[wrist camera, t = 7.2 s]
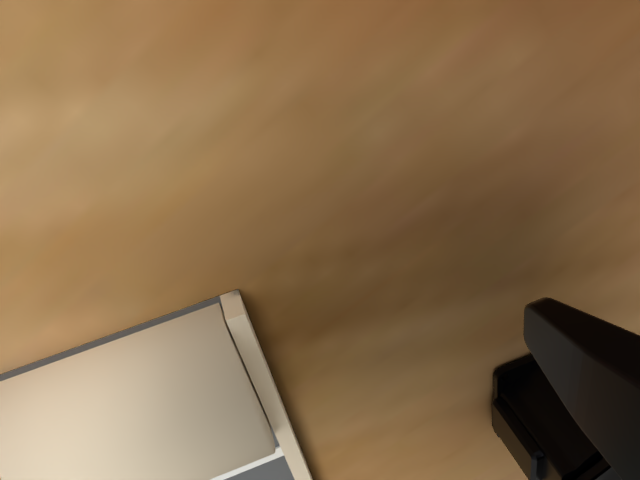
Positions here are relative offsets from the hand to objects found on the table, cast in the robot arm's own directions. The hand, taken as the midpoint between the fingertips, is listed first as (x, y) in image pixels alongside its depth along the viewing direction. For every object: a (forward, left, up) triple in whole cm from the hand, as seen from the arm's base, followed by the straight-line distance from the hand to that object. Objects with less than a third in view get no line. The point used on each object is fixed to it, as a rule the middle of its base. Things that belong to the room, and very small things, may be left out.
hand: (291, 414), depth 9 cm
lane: (+6, +20, -16) cm, 26 cm away
